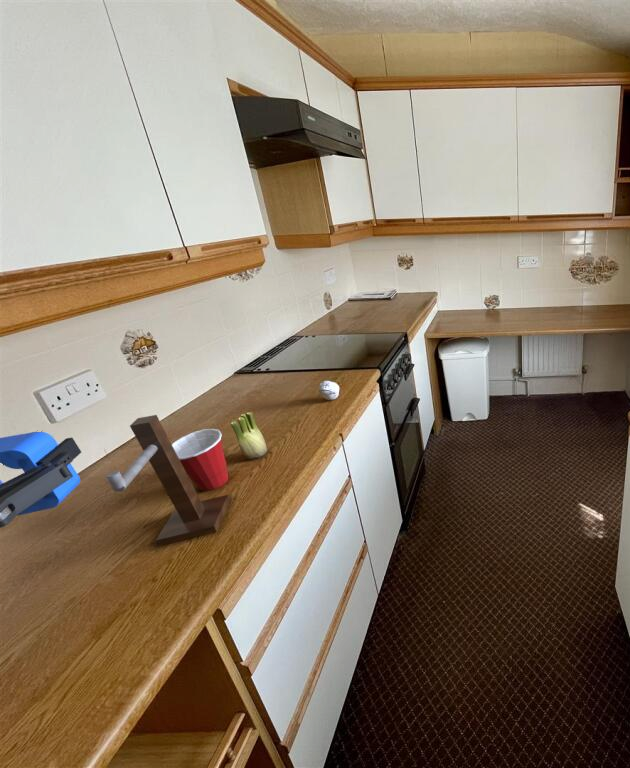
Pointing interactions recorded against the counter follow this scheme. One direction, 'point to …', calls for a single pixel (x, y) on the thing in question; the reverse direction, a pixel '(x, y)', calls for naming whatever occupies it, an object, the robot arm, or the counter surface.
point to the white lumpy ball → (329, 390)
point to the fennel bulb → (249, 437)
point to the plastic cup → (203, 458)
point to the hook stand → (171, 485)
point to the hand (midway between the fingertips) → (29, 453)
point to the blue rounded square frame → (25, 455)
